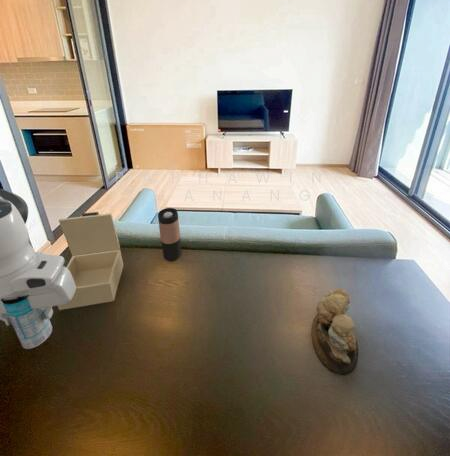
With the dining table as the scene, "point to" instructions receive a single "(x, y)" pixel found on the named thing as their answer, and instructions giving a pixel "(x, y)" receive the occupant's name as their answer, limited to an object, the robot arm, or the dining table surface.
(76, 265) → the bin
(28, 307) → the supplement bottle
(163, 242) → the travel mug
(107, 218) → the bin lid
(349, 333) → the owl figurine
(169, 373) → the dining table surface
